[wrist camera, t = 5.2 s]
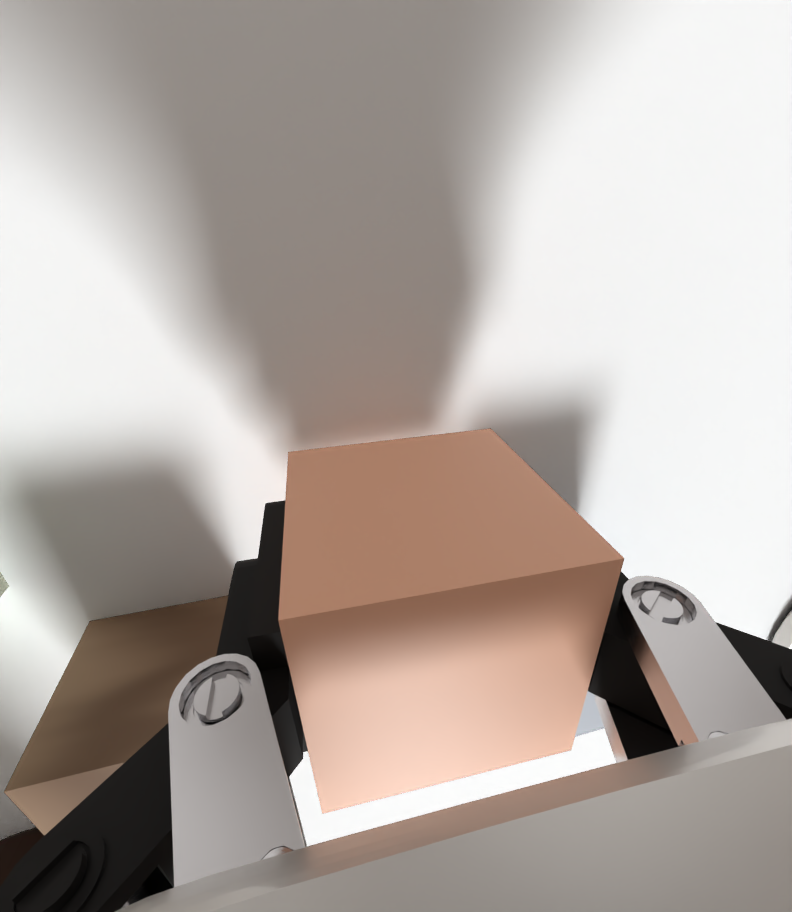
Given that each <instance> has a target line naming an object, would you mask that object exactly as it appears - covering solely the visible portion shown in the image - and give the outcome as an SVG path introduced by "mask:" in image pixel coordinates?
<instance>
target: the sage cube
mask: <svg viewBox="0 0 792 912" xmlns="http://www.w3.org/2000/svg"><path fill="white" fill-rule="evenodd" d="M8 587H9V585H8V583H7V582H6V580H5V579H4V577H3V575H2V574H1V572H0V597H1V595H2V594H3V593H4V592H5V590H6V589H7V588H8Z"/></svg>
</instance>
